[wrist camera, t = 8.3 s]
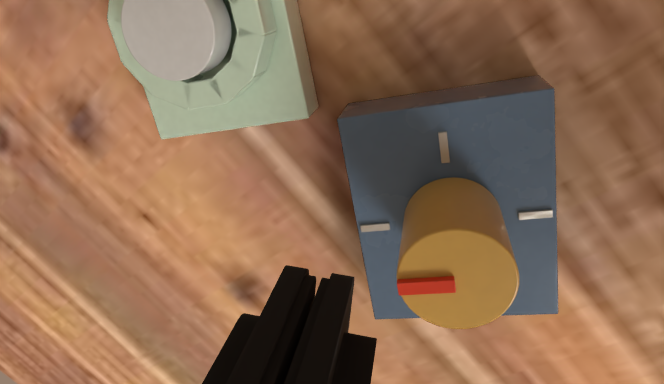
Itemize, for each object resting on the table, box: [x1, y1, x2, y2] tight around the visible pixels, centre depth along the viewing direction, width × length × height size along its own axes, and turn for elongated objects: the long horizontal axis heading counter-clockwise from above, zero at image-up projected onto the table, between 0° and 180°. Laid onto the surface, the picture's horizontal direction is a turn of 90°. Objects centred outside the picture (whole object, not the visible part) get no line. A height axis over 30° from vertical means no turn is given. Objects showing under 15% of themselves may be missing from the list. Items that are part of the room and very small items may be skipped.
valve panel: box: [337, 75, 558, 319], centre depth 23 cm, size 11×9×3 cm
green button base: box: [107, 0, 319, 139], centre depth 22 cm, size 10×8×4 cm
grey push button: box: [121, 0, 232, 81], centre depth 19 cm, size 4×4×2 cm
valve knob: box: [397, 177, 519, 329], centre depth 20 cm, size 4×4×5 cm
